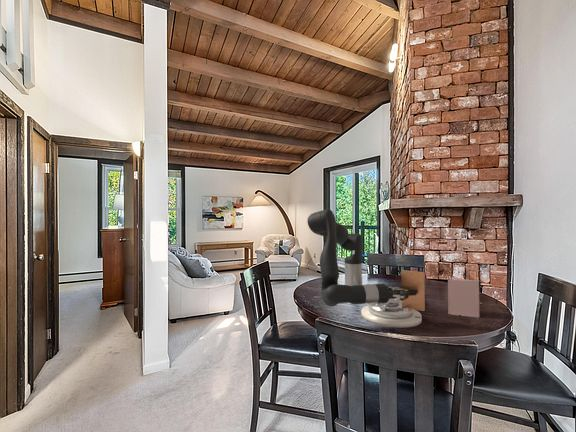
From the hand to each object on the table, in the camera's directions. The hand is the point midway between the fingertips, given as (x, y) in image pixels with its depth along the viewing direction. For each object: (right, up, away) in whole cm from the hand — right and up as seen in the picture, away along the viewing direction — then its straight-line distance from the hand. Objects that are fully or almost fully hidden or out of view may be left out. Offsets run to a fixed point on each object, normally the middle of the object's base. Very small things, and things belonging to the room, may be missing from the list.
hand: (415, 292), depth 118 cm
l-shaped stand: (-5, -10, +6) cm, 13 cm away
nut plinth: (-7, -13, +8) cm, 16 cm away
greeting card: (+24, -12, +9) cm, 28 cm away
